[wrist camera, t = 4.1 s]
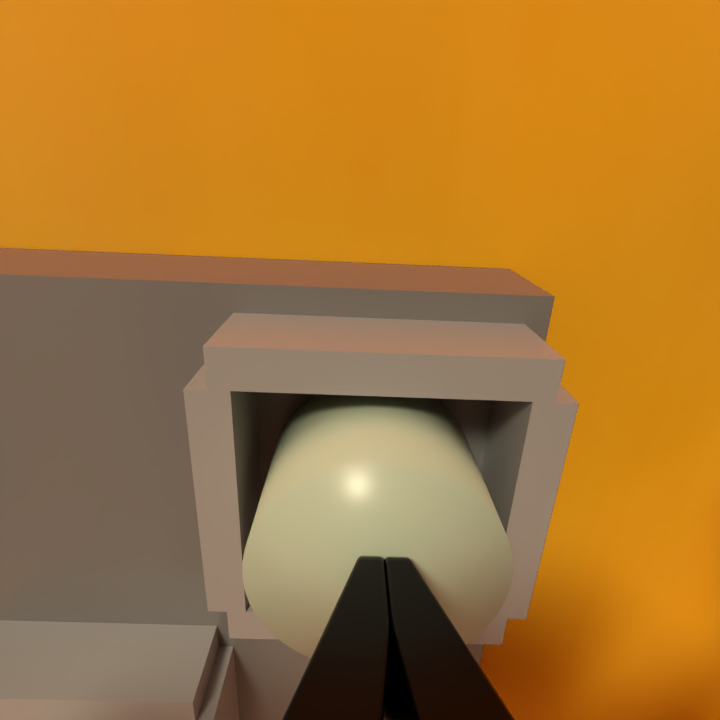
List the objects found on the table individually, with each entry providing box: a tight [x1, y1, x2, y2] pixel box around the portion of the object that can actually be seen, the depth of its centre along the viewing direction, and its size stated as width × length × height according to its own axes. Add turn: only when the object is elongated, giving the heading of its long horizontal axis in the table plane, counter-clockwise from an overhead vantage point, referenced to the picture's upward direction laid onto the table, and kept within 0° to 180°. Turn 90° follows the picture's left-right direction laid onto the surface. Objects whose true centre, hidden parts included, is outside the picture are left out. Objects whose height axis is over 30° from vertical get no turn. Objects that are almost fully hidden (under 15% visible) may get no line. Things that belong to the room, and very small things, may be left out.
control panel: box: [0, 248, 579, 720], centre depth 13 cm, size 21×17×5 cm
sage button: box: [242, 394, 513, 658], centre depth 9 cm, size 4×4×3 cm
